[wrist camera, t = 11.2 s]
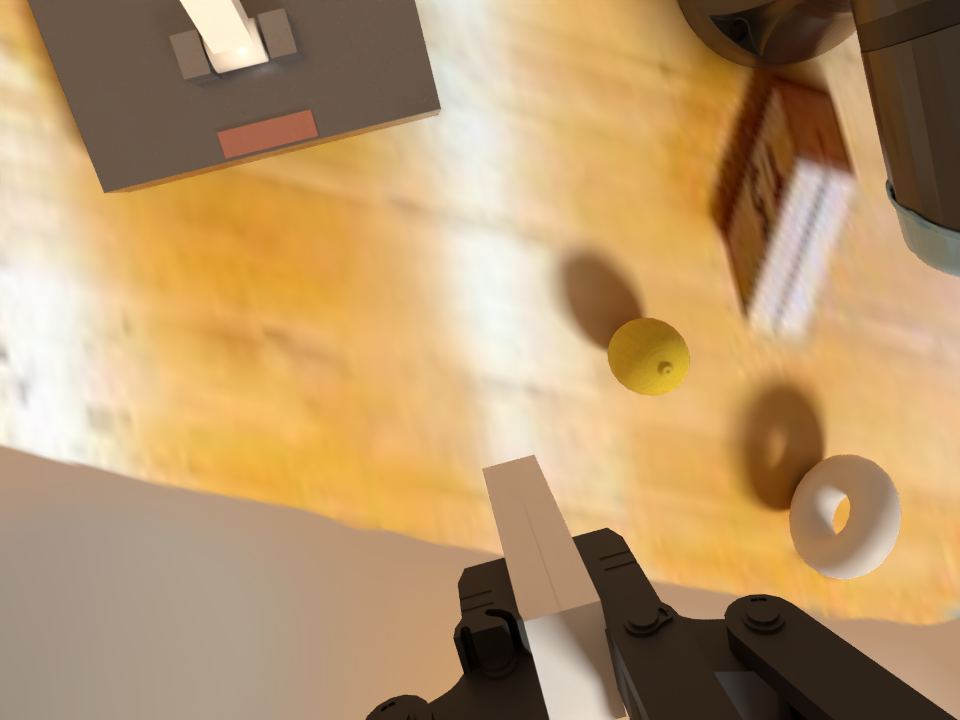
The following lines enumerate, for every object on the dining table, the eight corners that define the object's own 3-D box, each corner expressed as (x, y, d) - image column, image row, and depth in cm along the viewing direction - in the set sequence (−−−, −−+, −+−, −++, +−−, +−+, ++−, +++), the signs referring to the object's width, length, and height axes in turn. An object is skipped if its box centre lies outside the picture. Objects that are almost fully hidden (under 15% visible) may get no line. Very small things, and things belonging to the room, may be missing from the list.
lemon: (585, 363, 52) (615, 395, 44) (612, 299, 51) (649, 320, 43) (646, 385, 53) (686, 420, 45) (674, 322, 52) (720, 347, 44)
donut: (814, 430, 56) (898, 482, 46) (848, 442, 56) (938, 496, 47) (763, 530, 58) (833, 600, 48) (795, 540, 58) (871, 611, 49)
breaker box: (391, -76, 42) (388, -117, 37) (438, 114, 46) (442, 105, 40) (57, 3, 42) (1, -25, 36) (130, 191, 45) (89, 193, 39)
